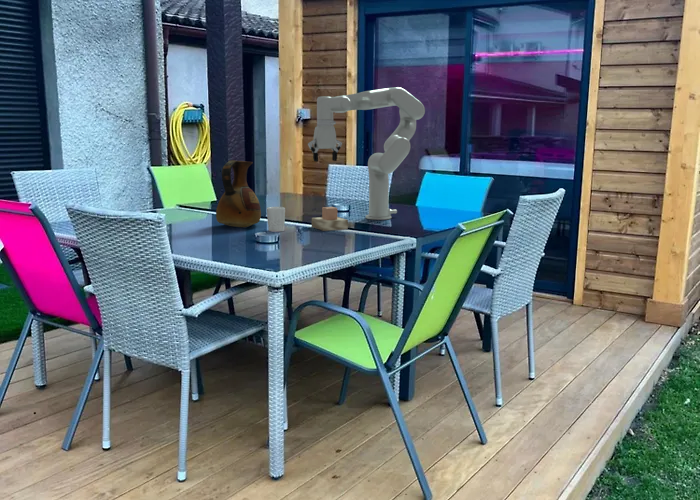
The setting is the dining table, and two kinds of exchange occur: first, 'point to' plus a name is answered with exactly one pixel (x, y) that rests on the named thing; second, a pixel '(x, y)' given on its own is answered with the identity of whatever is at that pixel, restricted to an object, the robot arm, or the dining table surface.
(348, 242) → the dining table surface
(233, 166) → the ceramic pitcher
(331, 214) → the cube
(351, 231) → the dining table surface
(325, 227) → the plinth
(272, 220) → the white cup
